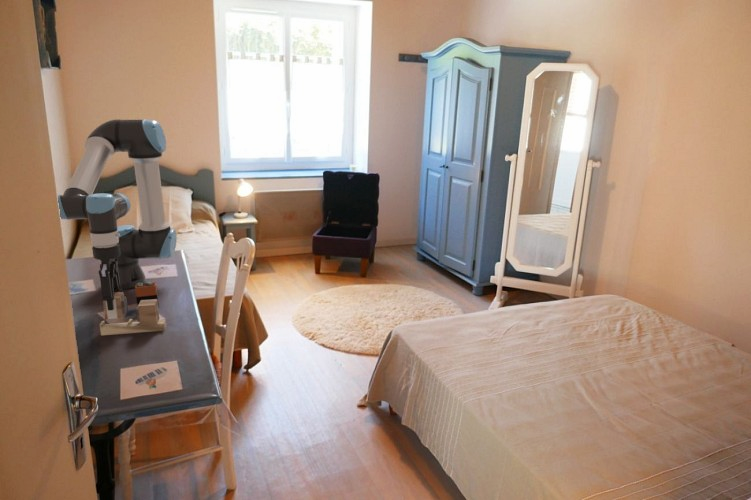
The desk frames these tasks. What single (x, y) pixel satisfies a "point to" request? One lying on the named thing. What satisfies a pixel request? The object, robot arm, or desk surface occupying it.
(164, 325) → the rail
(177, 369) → the desk surface
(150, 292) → the battery
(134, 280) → the robot arm
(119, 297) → the cardboard box
